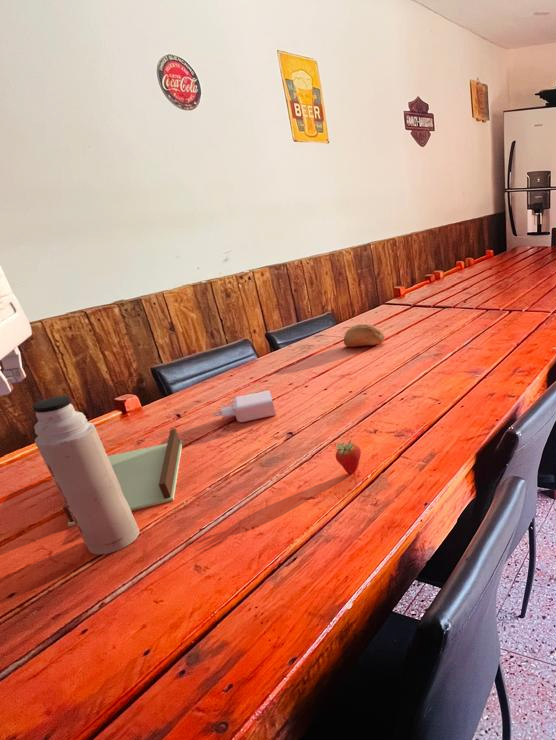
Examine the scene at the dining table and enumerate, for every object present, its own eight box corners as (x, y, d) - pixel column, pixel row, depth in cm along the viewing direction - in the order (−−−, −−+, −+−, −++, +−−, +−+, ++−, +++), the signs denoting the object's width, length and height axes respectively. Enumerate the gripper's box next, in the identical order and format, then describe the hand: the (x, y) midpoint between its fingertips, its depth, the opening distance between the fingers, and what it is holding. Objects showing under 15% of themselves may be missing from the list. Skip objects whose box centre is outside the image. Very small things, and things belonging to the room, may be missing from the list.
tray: (68, 527, 98) (59, 509, 96) (98, 460, 121) (91, 445, 119) (173, 500, 104) (167, 483, 102) (182, 442, 127) (177, 427, 125)
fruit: (335, 472, 111) (328, 440, 107) (357, 463, 114) (351, 431, 110) (346, 481, 107) (339, 448, 104) (368, 471, 110) (363, 439, 107)
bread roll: (384, 347, 187) (381, 326, 183) (343, 351, 185) (339, 330, 182) (385, 339, 196) (382, 319, 192) (345, 343, 194) (342, 322, 190)
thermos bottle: (85, 560, 89) (11, 416, 76) (92, 534, 95) (25, 398, 83) (137, 545, 92) (75, 404, 79) (141, 521, 98) (84, 387, 86)
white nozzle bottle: (215, 416, 140) (273, 404, 146) (216, 429, 132) (276, 416, 138) (210, 400, 138) (269, 388, 143) (211, 413, 130) (272, 400, 136)
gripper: (-36, 275, 71) (9, 368, 78) (-116, 305, 55) (-50, 420, 61) (20, 270, 74) (59, 360, 80) (-41, 297, 57) (15, 409, 63)
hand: (11, 387), depth 70 cm, fingers open, 4 cm apart
